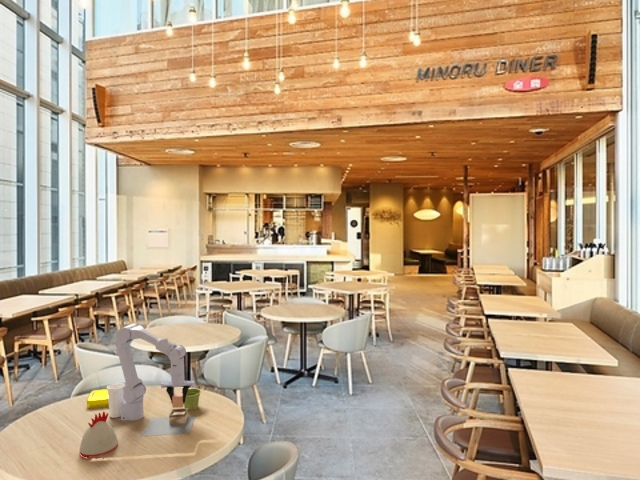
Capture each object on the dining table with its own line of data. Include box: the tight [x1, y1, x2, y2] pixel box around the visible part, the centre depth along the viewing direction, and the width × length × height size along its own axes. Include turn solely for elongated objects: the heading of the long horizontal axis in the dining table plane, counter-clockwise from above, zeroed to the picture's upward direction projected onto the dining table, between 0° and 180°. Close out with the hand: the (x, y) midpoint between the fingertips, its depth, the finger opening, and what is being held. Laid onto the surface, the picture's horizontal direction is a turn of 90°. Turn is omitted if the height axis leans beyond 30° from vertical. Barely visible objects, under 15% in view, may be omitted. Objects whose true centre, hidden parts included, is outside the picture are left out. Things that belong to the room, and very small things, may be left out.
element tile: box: [86, 388, 109, 409], centre depth 237 cm, size 15×15×5 cm
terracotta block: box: [171, 392, 184, 409], centre depth 211 cm, size 4×4×5 cm
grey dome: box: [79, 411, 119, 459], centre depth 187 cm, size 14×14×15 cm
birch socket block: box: [168, 407, 189, 424], centre depth 212 cm, size 7×7×4 cm
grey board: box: [140, 415, 197, 437], centre depth 206 cm, size 20×18×1 cm
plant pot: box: [180, 388, 202, 411], centre depth 226 cm, size 9×9×9 cm
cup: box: [106, 382, 125, 419], centre depth 220 cm, size 8×8×14 cm
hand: (178, 402), depth 211 cm, fingers closed on terracotta block, 4 cm apart
